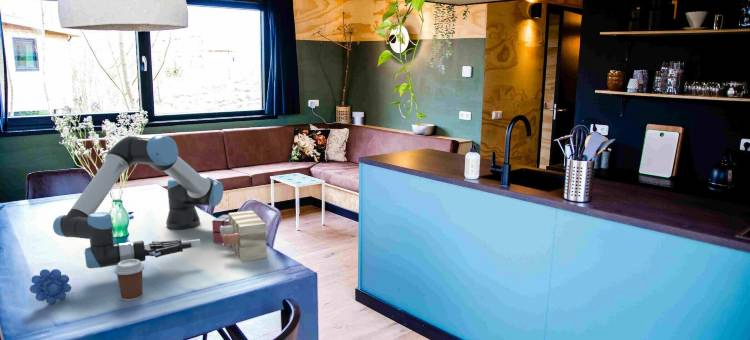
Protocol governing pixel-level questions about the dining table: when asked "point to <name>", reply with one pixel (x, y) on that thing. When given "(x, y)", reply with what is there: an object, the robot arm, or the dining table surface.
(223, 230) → the white plug
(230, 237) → the terracotta plug
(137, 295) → the coffee cup
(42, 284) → the blue lumpy lobed piece
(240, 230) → the socket block
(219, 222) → the puzzle cube
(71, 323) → the dining table surface
